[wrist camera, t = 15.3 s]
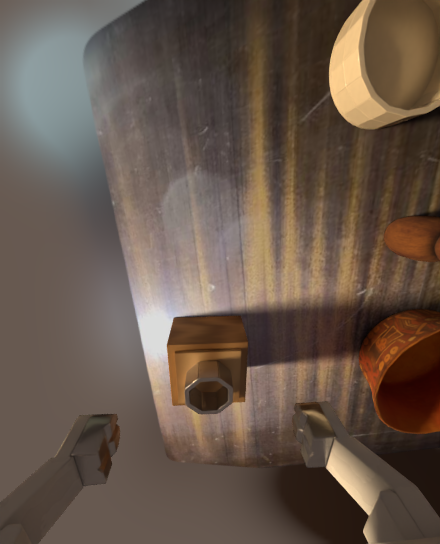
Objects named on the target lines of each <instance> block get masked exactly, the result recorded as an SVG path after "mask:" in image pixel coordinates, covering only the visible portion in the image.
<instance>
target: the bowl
mask: <svg viewBox="0 0 440 544" xmlns="http://www.w3.org/2000/svg"><path fill="white" fill-rule="evenodd" d="M359 365H360V367H361V370H362V372H363V374H364V376H365V378H366V379H367V381H368V383H369V385H370V388H371V390H372V395H373V402H374V407H375V410H376V412H377V414H378V416H379V418H380V419H381V420H382V422H383V423H384V424H386V425H387V426H389V427H391V428H393V429H395V430H397V431H400V432H404V433H413V434H426V433H432V432H439V431H440V312H437V311H433V310H428V309H413V310H406V311H402V312H399V313H396V314H393V315H391V316H390V317H388V318H386V319H384V320H383V321H381V322H380V323H379V324H377V325H376V326H375V327H374V328H373V329H372V330H371V331H370V332H369V333H368V335H367V336H366V338H365V339H364V341H363V343H362V345H361V347H360V352H359Z"/></svg>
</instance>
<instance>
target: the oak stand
mask: <svg viewBox="0 0 440 544" xmlns="http://www.w3.org/2000/svg"><path fill="white" fill-rule="evenodd" d="M220 349H241V369H240V393H239V400H234V401H233V402H245V392H246V374H247V355H248V340H247V336H246V333H245V329H244V326H243V322H242V319H241V316H210V317H178V318H174V319H173V323H172V327H171V331H170V335H169V339H168V343H167V352H168V363H169V373H170V384H171V394H172V405H173V406H177V405H185V403H178V391H177V379H176V367H175V355H174V353H175V351H195V350H220ZM233 402H232V403H233Z"/></svg>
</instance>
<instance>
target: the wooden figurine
mask: <svg viewBox="0 0 440 544" xmlns="http://www.w3.org/2000/svg"><path fill="white" fill-rule="evenodd" d="M384 241H385V243H386V245H387V246H388V248H389V249H390V250H391V251H393V252H394V253H396V254H398V255H400V256H403V257H406V258H409V259H413V260H418V261H426V262H438V261H440V217H434V216H408V217H403V218H400V219H397V220H394V221H393V222H392V223H391V224H389V226H388V227H387V229H386V231H385V234H384Z"/></svg>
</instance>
